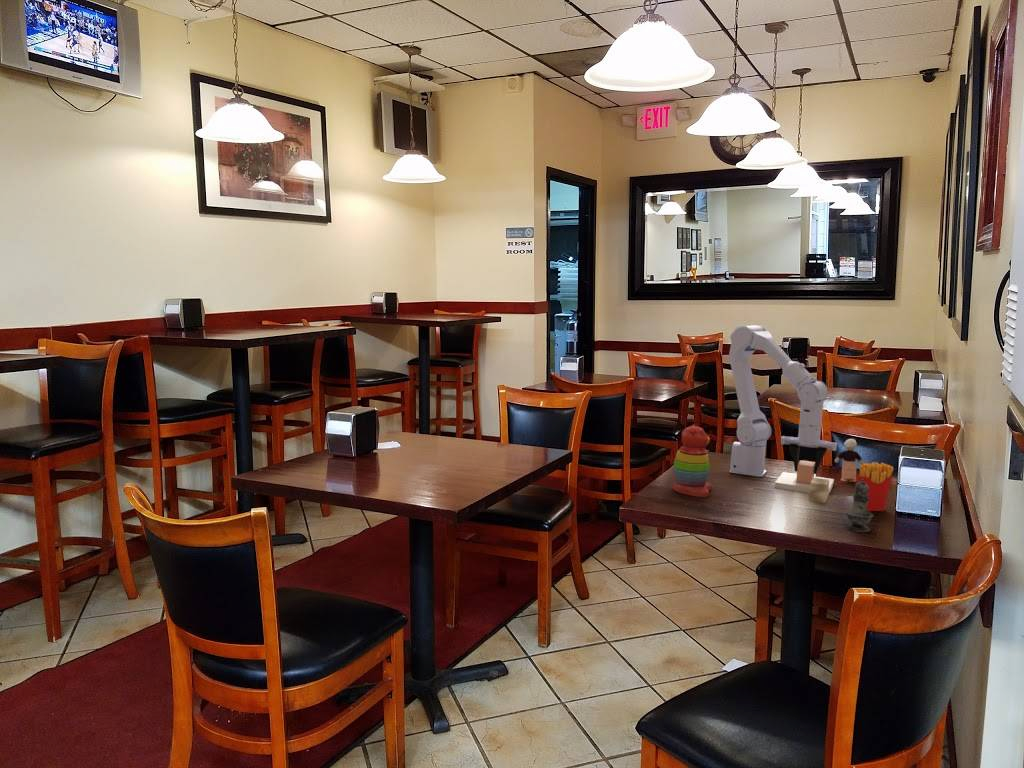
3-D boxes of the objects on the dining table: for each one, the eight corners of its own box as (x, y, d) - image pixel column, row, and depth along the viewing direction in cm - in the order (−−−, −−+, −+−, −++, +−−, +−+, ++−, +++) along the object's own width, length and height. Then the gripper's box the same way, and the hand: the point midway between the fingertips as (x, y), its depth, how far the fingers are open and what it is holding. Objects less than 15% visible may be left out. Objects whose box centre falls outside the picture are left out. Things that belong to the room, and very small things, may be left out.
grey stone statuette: (839, 523, 184) (844, 475, 182) (863, 524, 185) (868, 475, 183) (852, 532, 178) (857, 481, 177) (876, 532, 179) (881, 482, 177)
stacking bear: (708, 498, 202) (713, 431, 199) (669, 493, 205) (673, 427, 203) (712, 488, 212) (717, 424, 209) (675, 483, 215) (679, 421, 213)
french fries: (859, 511, 195) (864, 465, 193) (851, 506, 199) (856, 461, 197) (891, 511, 196) (896, 465, 194) (883, 507, 199) (888, 462, 198)
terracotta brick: (796, 481, 216) (797, 464, 215) (798, 477, 221) (800, 460, 220) (811, 484, 214) (813, 466, 213) (813, 479, 219) (815, 462, 218)
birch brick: (808, 500, 203) (810, 482, 202) (811, 495, 208) (813, 477, 208) (825, 503, 201) (827, 484, 201) (827, 497, 207) (829, 479, 206)
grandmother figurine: (858, 480, 226) (862, 438, 224) (862, 483, 222) (867, 440, 220) (831, 478, 227) (835, 436, 225) (835, 482, 223) (839, 439, 221)
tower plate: (774, 487, 215) (775, 482, 215) (782, 476, 227) (783, 471, 227) (828, 495, 208) (829, 490, 208) (833, 484, 221) (834, 478, 220)
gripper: (780, 423, 215) (776, 471, 217) (836, 430, 208) (832, 479, 210) (784, 420, 221) (780, 466, 223) (839, 426, 215) (834, 473, 217)
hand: (805, 472), depth 217 cm, fingers open, 4 cm apart
